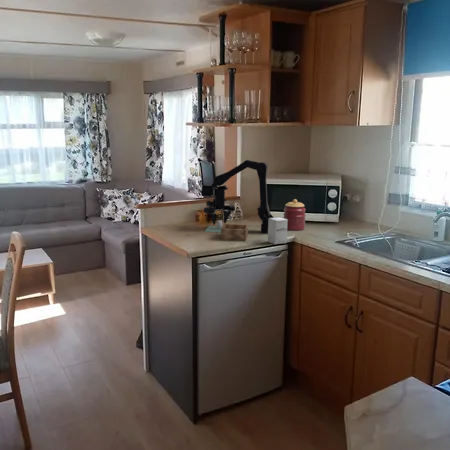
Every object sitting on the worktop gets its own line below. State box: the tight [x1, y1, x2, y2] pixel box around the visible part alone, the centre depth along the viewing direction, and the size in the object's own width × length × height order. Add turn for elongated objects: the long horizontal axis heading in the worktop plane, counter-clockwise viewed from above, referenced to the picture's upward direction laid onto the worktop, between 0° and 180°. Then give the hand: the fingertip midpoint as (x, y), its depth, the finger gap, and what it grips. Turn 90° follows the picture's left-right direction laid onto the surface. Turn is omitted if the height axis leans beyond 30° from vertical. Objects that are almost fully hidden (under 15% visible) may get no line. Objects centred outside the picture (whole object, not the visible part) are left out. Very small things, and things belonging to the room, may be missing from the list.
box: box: [220, 223, 249, 242], centre depth 256 cm, size 13×13×6 cm
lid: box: [204, 219, 223, 234], centre depth 275 cm, size 15×15×6 cm
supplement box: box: [267, 217, 288, 245], centre depth 247 cm, size 7×7×13 cm
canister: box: [283, 198, 307, 232], centre depth 280 cm, size 13×13×18 cm
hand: (219, 223), depth 275 cm, fingers open, 7 cm apart
